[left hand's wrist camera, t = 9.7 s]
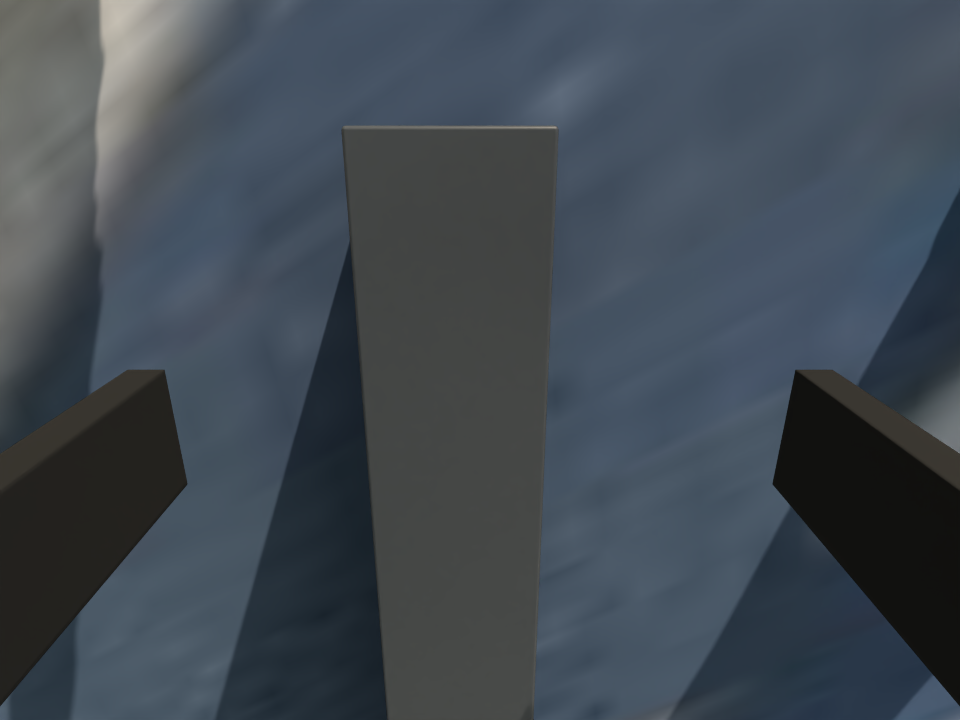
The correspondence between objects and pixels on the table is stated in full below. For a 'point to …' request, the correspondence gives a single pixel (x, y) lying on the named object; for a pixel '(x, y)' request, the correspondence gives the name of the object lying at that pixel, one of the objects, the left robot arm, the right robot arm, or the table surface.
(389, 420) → the beam
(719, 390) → the table surface
